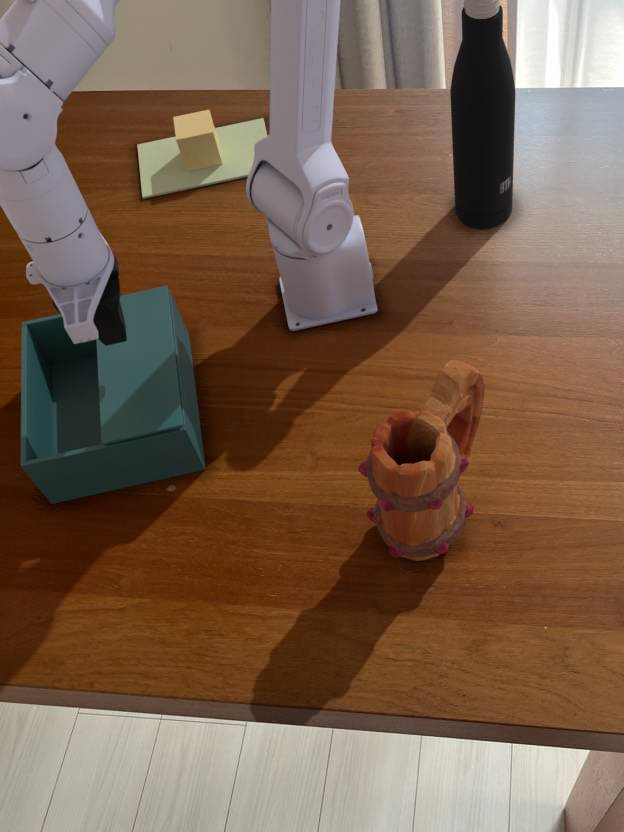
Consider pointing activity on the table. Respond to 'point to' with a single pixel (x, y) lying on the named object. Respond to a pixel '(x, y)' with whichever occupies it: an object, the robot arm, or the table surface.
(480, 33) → the black insulated flask
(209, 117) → the block
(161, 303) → the flap
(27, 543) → the table surface
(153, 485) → the table surface
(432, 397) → the mug
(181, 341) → the carton
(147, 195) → the placemat
